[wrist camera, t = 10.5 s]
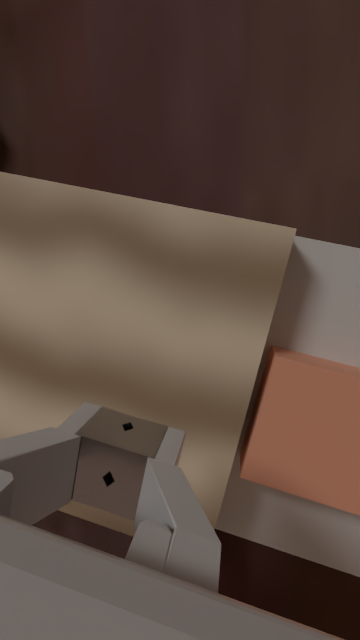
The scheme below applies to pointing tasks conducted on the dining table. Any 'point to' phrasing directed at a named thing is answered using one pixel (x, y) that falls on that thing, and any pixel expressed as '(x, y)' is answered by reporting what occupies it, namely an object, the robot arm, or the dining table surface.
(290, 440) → the pink flat block
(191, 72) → the dining table surface
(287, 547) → the mat
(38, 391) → the beige square slab
